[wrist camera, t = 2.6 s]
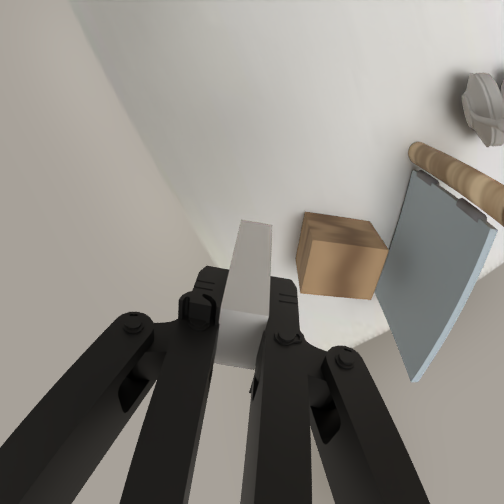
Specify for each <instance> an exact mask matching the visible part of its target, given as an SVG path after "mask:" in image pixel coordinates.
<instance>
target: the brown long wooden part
mask: <svg viewBox="0 0 504 504" xmlns="http://www.w3.org/2000/svg"><path fill="white" fill-rule="evenodd" d="M408 155H409V158H410V160H411V161H412V162H413V163H414V164H416V165H418V166H419V167H421V168H422V169H424V170H426V171H427V172H429V173H430V174H432V175H433V176H435V177H436V178H438V179H439V180H441V181H442V182H444V183H445V184H447V185H448V186H450V187H451V188H453V189H454V190H456V191H457V192H459V193H460V194H461V195H463V196H464V197H466V198H467V199H468V200H470V201H471V202H472V203H474V204H475V205H476V206H478V207H479V208H481V209H482V210H483V211H484V212H486V213H487V214H488V215H490V216H491V217H492V218H493V219H495V220H496V221H497V222H499V223H500V224H501V225H502V226H503V227H504V185H503V184H501V183H499V182H498V181H496V180H494V179H492V178H491V177H489V176H487V175H485V174H484V173H482V172H480V171H478V170H476V169H474V168H473V167H471V166H469V165H467V164H465V163H463V162H461V161H459V160H457V159H455V158H453V157H451V156H449V155H447V154H445V153H443V152H441V151H439V150H437V149H435V148H432V147H430V146H428V145H426V144H424V143H421V142H415V143H413V144H412V145H411V146H410V148H409V151H408Z"/></svg>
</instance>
